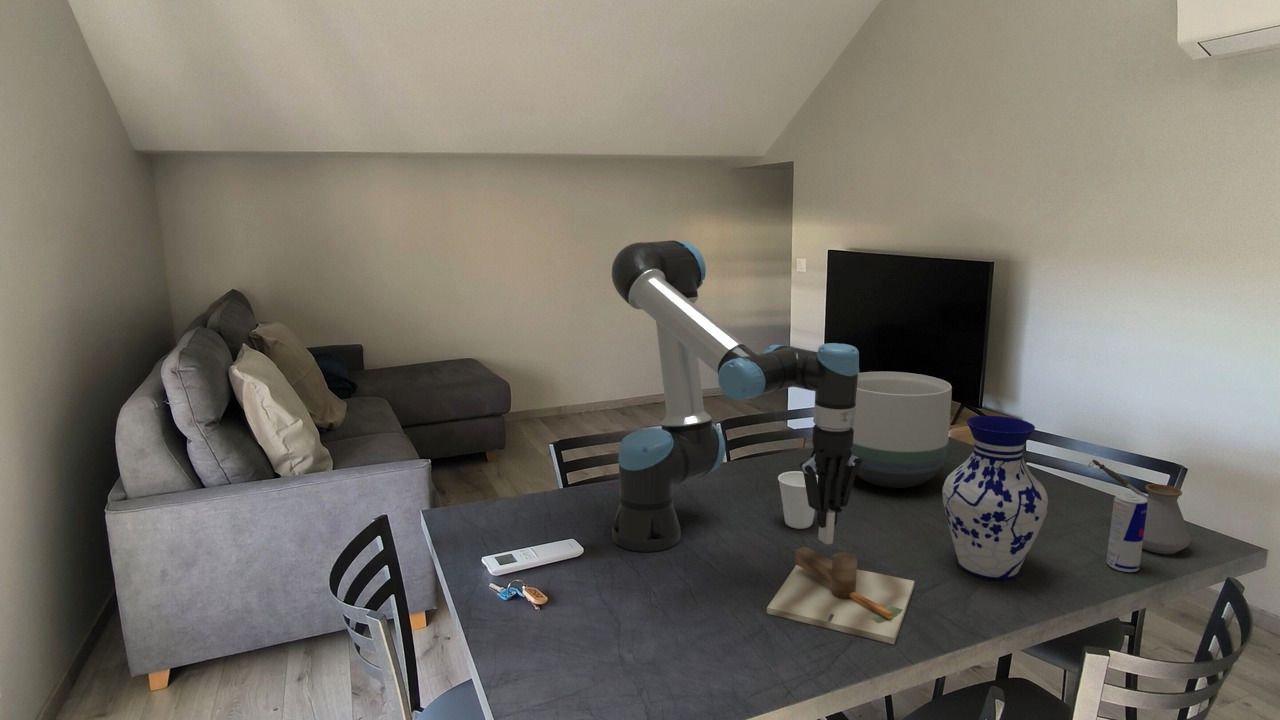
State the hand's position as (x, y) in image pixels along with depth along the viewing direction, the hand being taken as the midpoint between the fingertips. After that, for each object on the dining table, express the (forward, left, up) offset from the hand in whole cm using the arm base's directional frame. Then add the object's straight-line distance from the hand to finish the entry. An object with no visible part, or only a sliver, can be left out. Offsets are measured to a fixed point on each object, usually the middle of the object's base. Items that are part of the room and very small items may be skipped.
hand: (825, 541), depth 149 cm
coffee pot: (+55, +47, -8) cm, 73 cm away
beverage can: (+52, +30, -8) cm, 61 cm away
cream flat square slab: (+5, -8, -7) cm, 12 cm away
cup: (-12, +22, -8) cm, 26 cm away
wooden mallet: (+5, -8, -6) cm, 11 cm away
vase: (+28, +18, -8) cm, 35 cm away
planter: (+2, +59, -8) cm, 60 cm away
